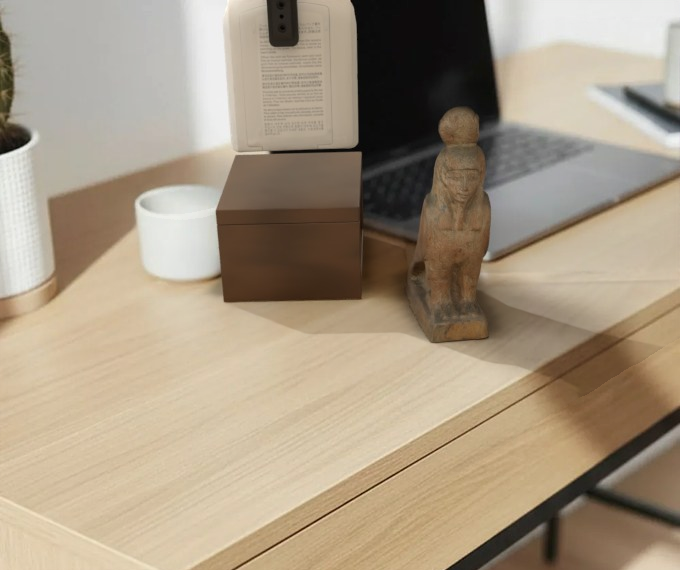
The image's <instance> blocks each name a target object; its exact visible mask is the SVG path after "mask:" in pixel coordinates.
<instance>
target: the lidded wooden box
mask: <svg viewBox="0 0 680 570" xmlns="http://www.w3.org/2000/svg"><path fill="white" fill-rule="evenodd" d="M363 185H364V184H363V152H362V151H336V152H332V151H331V152H298V153H297V152H295V153H294V152H293V153H259V154H258V153H257V154H255V153H254V154H235V156H234V159H233V161H232V164H231V167H230V169H229V172H228V175H227V177H226V180H225V184H224V186H223V189H222V192H221V194H220V197H219V200H218V202H217V206H216V208H215V221H216V233H217V243H218V244H217V245H218V253H219V255H218V256H219V266H220V275H221V276H220V277H221V287H222V300H223V302H224V303H235V302H237V303H238V302H241V303H242V302H243V303H244V302H245V303H246V302H285V301H287V302H289V301H291V302H292V301H293V302H295V301H332V300H333V301H338V300H362V297H363V296H362V294H363V293H362V292H363V265H364V237H365V236H364V235H365V233H364V232H365V231H364V192H363V191H364V190H363V189H364V188H363Z"/></svg>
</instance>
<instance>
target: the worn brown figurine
mask: <svg viewBox="0 0 680 570" xmlns="http://www.w3.org/2000/svg"><path fill="white" fill-rule="evenodd" d="M437 127H438V129H437V131H438V134H439V137H440V139H441V140H442V142H443V143H444V145H445V146H444V147H443V148H441V150H440V152H439V153H438V155H437V156H436V160H435V162H434V166H433V167H434V168H433V178H432V186H431V189H430V192H428V193H427V194H426V195H425V197H424V199H423V204H422V208H421V209H422V210H421V214H420V221H419V227H418V235H417V240H416V245H415V249H414V254H413V258H412V260H411V262H410V264H409V266H408V269H407V273H406V275H407V276H406V283H405V286H404V291H405V294H406V297H407V300H408V301H409V308H410V310H411V311H412V313H413V315H414V317H415V318H416V321H417V322H418V326H420V328H421V329H422V330H423V333H424V334H425V337H426V338H427V340H429V342H431V343H440V342H452V341H453V342H454V341H466V340H479V339H486V338H489V335H490V334H489V331H488V318H487V316H486V315H485V312H484V310H483V309H482V307H481V306H480V304H479V302H478V300H477V298H476V297H477V296H476V295H477V289H478V282H479V278H480V274H481V269H482V265H483V259H484V258H485V256H486V255H487V253H488V250H489V245H490V237H491V236H490V235H491V227H492V226H491V225H492V206H491V205H492V204H491V200H490V196H489V194H488V193H487V191H484V184H485V178H486V171H487V170H486V169H487V166H486V163H487V162H486V158H485V154H484V153H485V152H484V151H483V149H482V148H481V147H480V146H479V145H478V141H479V137H480V116H479V115H478V113H475V111H474V110H473V108H471V107H469V106H467V105H465V106H462V105H461V106H454V107H451V108H450V109H448V110H447V111H446V112H445V113H444V114H443V116H442V118H440V120H439V121H438V126H437Z"/></svg>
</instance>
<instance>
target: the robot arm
mask: <svg viewBox="0 0 680 570" xmlns="http://www.w3.org/2000/svg"><path fill="white" fill-rule="evenodd" d="M267 16H268V31H269V42H270V44H271V45H272V46H273V47H293V46H296V45H297V43H298V41H299V27H298V7H297V0H267Z"/></svg>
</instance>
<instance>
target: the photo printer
mask: <svg viewBox="0 0 680 570" xmlns="http://www.w3.org/2000/svg"><path fill="white" fill-rule="evenodd" d="M226 3H227V5H226V7H225V10H224V12H223V17H222V33H223V34H222V35H223V50H224V63H225V73H226V74H225V76H226V77H225V78H226V92H227V106H228V119H229V120H228V122H229V135H230V146H231V149H232V150H233V151H235V152H237V153H253V152H255V153H256V152H257V153H258V152H282V151H304V150H307V151H308V150H329V149H330V150H331V149H332V150H333V149H336V150H337V149H352V148H355V147H356V146H357V145H358V144H359V94H358V93H359V92H358V91H359V90H358V89H359V87H358V86H359V85H358V40H357V39H358V33H357V20H356V15H355V14H356V13H355V7H354V5H353V3H352V2H351V0H297V7H298V27H299V41H298V43H297V45H296V46H293V47H273V46H272V45H271V44H270V42H269V31H268V16H267V0H226Z"/></svg>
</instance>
